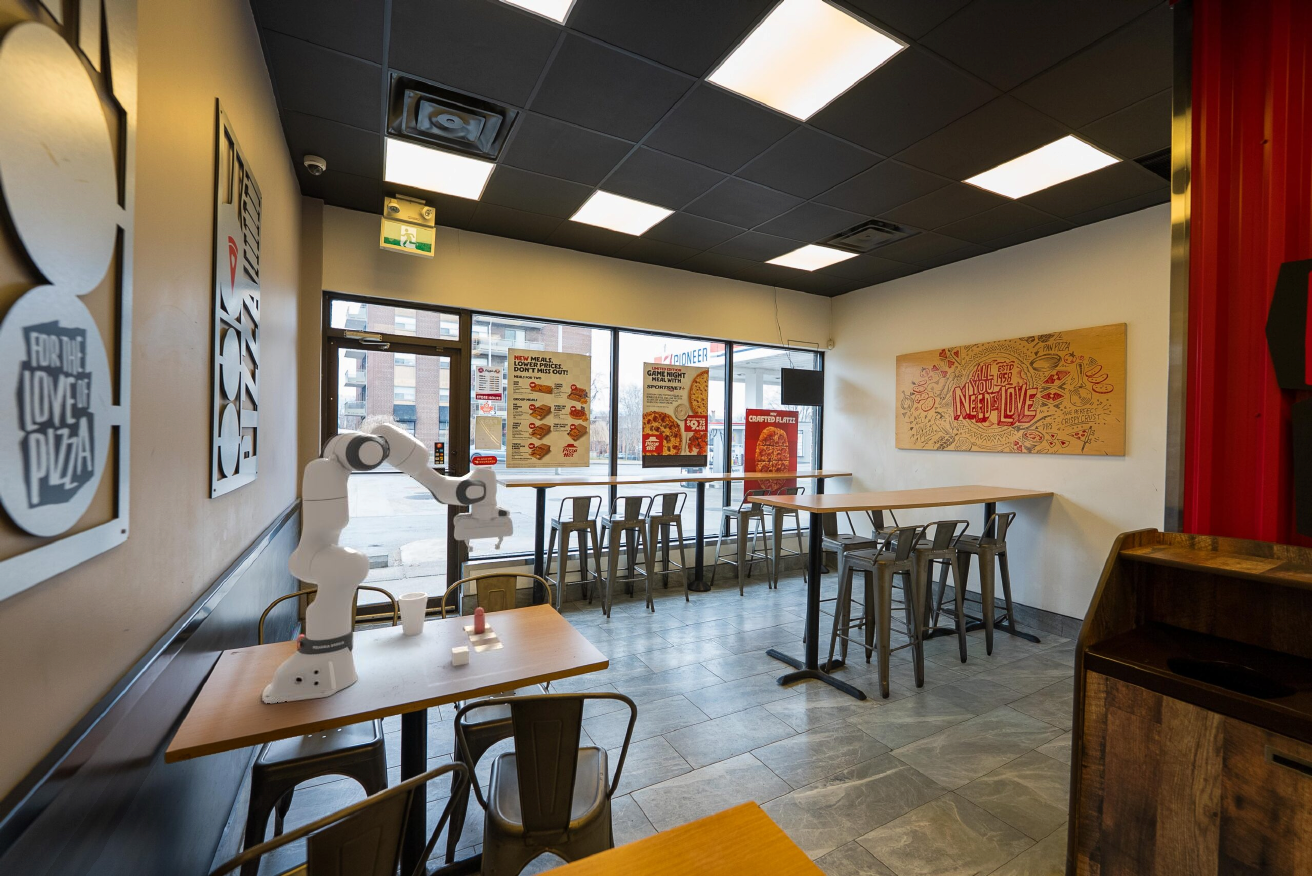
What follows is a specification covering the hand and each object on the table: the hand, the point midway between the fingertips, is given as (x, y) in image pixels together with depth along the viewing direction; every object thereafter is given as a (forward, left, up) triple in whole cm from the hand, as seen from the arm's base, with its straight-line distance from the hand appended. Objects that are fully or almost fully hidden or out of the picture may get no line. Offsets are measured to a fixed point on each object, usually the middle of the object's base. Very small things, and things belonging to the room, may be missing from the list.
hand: (484, 550), depth 198 cm
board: (-2, -7, -29) cm, 30 cm away
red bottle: (-2, -1, -28) cm, 29 cm away
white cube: (-12, -26, -29) cm, 41 cm away
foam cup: (-23, +11, -29) cm, 39 cm away
